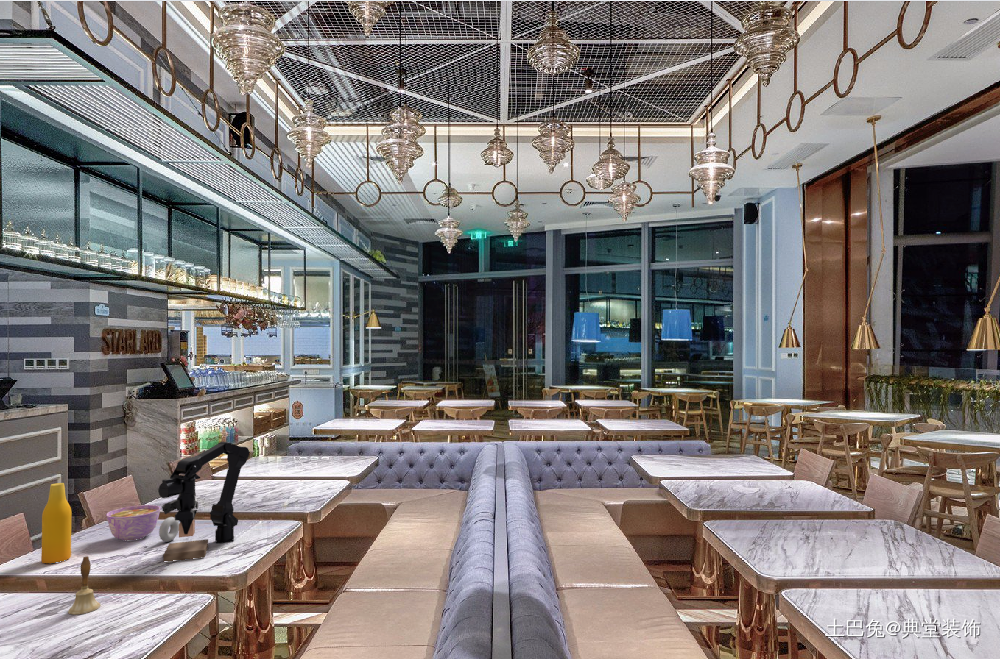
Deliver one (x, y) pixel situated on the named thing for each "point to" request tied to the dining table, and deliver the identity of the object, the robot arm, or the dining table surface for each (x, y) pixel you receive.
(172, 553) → the walnut base
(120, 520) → the bowl of food
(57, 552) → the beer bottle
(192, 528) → the terracotta block
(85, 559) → the hand bell
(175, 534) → the donut
